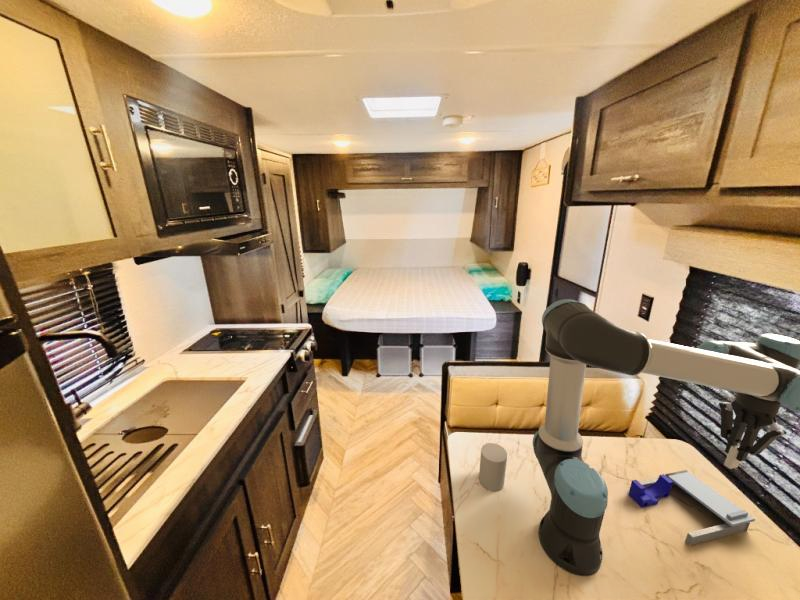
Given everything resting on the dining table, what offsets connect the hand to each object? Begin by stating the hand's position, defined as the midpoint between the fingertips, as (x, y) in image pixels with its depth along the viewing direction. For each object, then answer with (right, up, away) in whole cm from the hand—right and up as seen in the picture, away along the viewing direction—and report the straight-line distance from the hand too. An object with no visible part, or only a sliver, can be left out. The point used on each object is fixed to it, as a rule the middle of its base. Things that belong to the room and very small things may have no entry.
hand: (730, 466), depth 86 cm
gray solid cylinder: (-62, -15, +17) cm, 66 cm away
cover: (0, -13, +7) cm, 15 cm away
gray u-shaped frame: (-6, -17, +7) cm, 19 cm away
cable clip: (-13, -16, +11) cm, 24 cm away
